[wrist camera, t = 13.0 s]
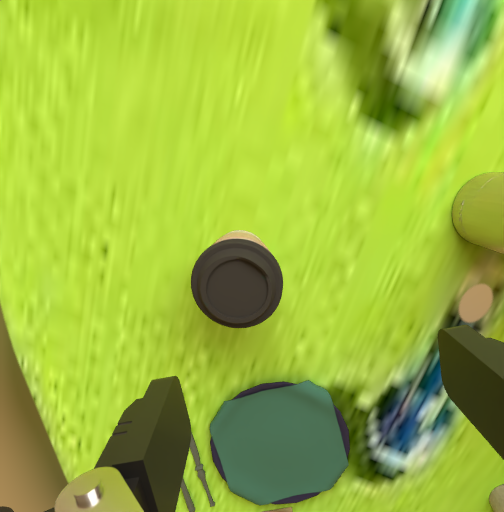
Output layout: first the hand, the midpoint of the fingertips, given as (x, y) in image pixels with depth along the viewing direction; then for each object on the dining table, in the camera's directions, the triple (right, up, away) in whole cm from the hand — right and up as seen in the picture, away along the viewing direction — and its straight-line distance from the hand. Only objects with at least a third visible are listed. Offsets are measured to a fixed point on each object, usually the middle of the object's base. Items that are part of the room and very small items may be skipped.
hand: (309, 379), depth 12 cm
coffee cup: (-3, +4, +38) cm, 39 cm away
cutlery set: (-3, -24, +45) cm, 51 cm away
